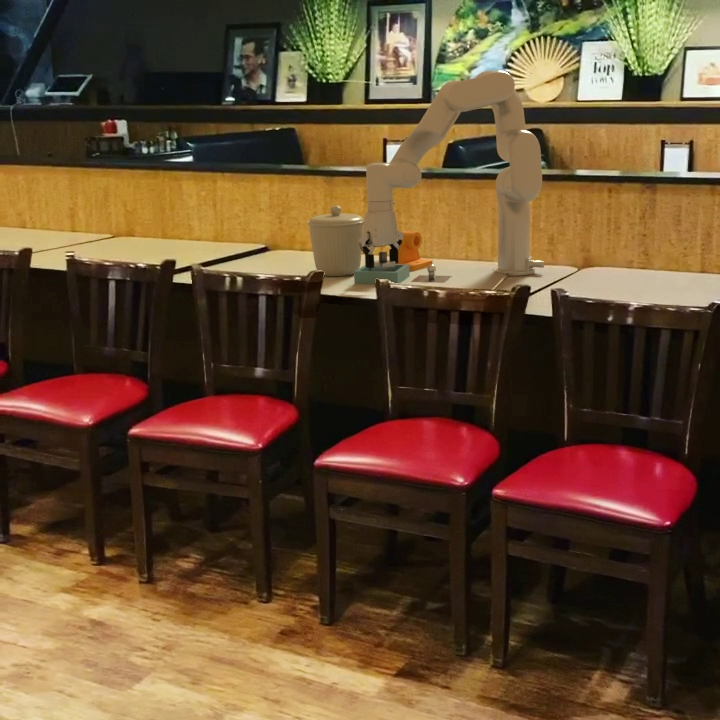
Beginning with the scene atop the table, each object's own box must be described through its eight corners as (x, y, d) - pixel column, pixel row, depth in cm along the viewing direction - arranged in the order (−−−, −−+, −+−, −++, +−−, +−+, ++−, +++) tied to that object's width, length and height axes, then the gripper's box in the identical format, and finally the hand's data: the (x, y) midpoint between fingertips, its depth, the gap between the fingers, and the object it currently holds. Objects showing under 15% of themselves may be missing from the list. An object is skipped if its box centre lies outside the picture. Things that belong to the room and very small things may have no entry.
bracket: (414, 274, 321) (413, 235, 317) (394, 272, 325) (393, 233, 322) (433, 268, 329) (433, 230, 326) (414, 266, 333) (414, 229, 330)
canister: (379, 273, 324) (377, 204, 318) (332, 281, 313) (330, 211, 307) (343, 266, 337) (340, 200, 332) (297, 274, 327) (294, 206, 321)
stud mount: (452, 279, 310) (452, 262, 309) (444, 285, 301) (444, 268, 300) (419, 278, 313) (419, 261, 312) (410, 284, 304) (410, 267, 303)
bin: (409, 279, 312) (409, 264, 311) (397, 288, 300) (397, 272, 299) (367, 278, 316) (367, 263, 315) (354, 286, 304) (354, 271, 303)
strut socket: (383, 277, 312) (383, 250, 310) (395, 279, 308) (394, 251, 306) (371, 279, 308) (370, 252, 306) (383, 281, 305) (382, 254, 303)
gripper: (392, 202, 311) (394, 259, 315) (349, 208, 300) (351, 268, 304) (410, 204, 305) (412, 262, 310) (367, 210, 294) (369, 271, 299)
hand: (382, 265), depth 307 cm, fingers open, 9 cm apart
